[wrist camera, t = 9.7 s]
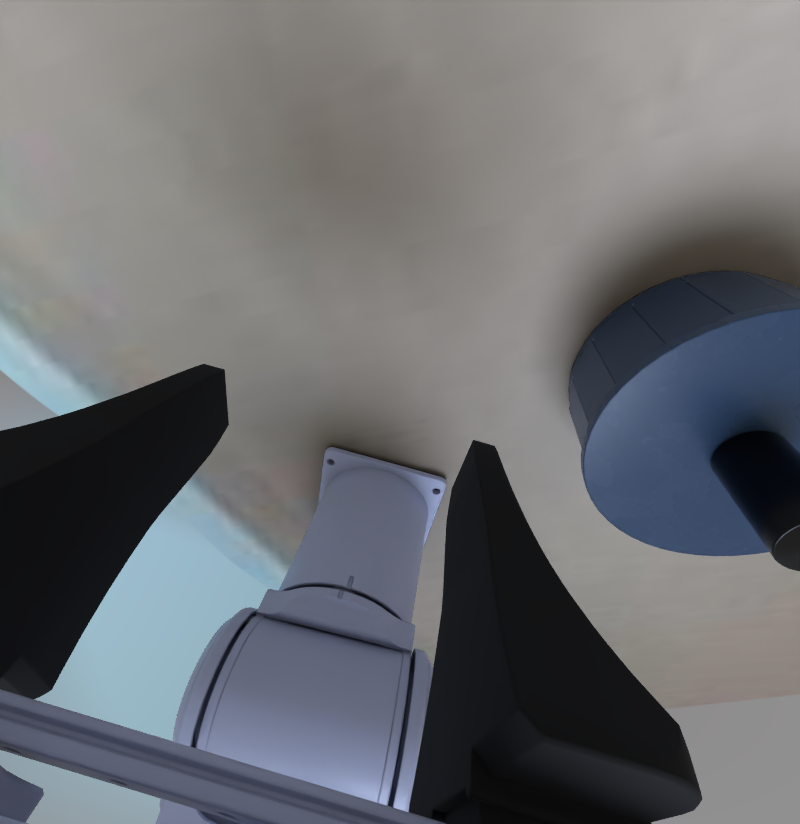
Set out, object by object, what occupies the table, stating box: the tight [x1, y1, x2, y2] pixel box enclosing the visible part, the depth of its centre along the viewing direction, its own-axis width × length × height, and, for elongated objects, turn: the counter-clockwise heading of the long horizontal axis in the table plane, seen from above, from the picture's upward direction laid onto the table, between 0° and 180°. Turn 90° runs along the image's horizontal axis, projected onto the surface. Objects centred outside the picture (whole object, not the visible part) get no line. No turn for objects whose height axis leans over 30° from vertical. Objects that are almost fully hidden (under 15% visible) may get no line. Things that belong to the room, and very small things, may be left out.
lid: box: [581, 303, 800, 571], centre depth 13 cm, size 11×11×5 cm
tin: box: [569, 271, 800, 447], centre depth 17 cm, size 10×10×5 cm
